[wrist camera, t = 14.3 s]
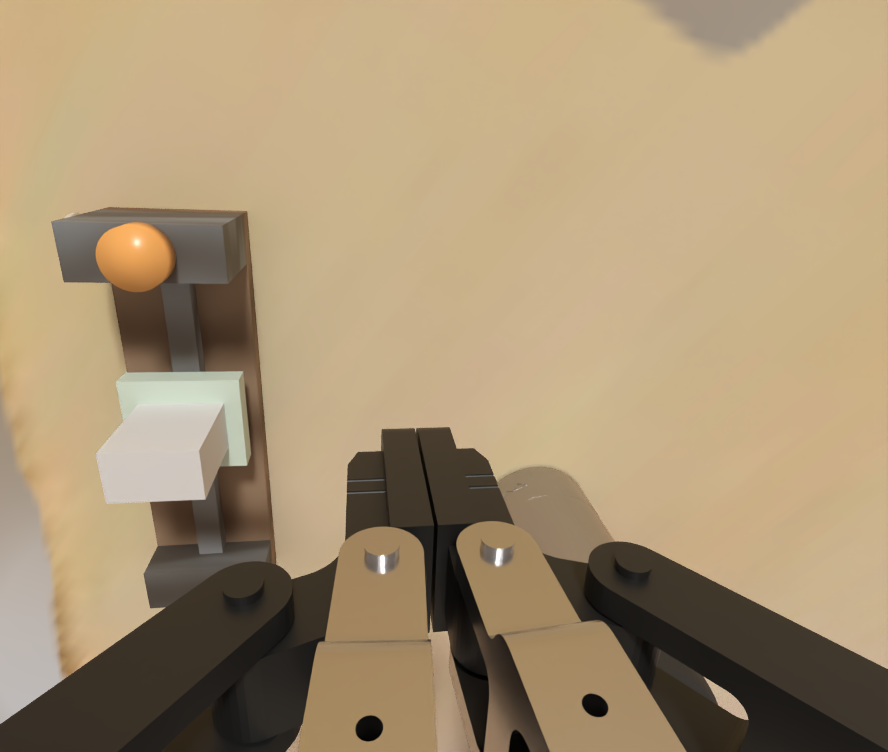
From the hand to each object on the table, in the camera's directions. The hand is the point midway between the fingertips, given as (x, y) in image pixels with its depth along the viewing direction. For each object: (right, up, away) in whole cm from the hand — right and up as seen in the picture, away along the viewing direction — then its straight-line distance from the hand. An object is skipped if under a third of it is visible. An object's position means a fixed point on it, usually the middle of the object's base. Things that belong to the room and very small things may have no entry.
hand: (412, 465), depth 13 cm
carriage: (-16, -1, +24) cm, 29 cm away
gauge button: (-15, +8, +16) cm, 23 cm away
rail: (-16, 0, +27) cm, 32 cm away
